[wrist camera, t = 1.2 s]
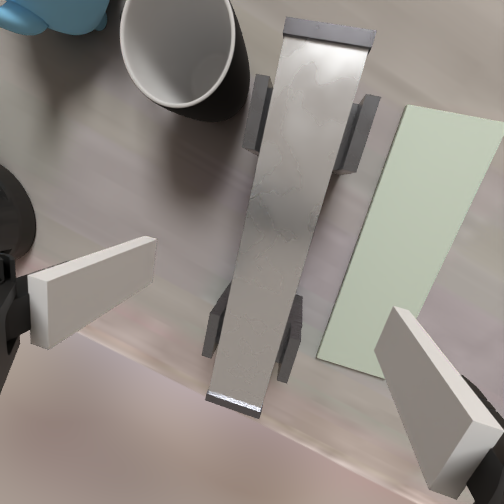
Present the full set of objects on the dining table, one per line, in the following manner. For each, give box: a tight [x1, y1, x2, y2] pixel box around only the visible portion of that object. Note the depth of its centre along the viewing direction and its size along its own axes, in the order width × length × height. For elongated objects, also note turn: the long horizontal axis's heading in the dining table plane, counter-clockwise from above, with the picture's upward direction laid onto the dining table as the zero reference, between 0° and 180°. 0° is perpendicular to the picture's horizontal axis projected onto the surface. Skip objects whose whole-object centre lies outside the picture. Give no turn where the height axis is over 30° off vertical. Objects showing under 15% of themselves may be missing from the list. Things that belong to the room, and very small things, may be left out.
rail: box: [205, 17, 376, 419], centre depth 22 cm, size 30×5×5 cm, turn 167°
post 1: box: [202, 281, 302, 383], centre depth 29 cm, size 9×5×10 cm, turn 77°
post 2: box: [242, 74, 381, 175], centre depth 23 cm, size 9×5×10 cm, turn 77°
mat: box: [317, 104, 504, 379], centre depth 29 cm, size 9×30×1 cm, turn 167°
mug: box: [120, 0, 250, 122], centre depth 23 cm, size 12×9×10 cm
